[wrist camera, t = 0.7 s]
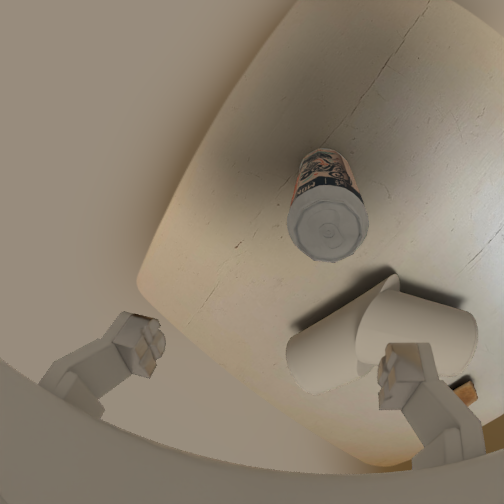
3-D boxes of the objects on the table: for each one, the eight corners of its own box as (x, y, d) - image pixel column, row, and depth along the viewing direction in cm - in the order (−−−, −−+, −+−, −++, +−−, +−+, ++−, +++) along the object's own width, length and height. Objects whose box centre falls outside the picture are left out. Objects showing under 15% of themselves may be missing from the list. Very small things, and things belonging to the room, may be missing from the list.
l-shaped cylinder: (418, 222, 24) (276, 321, 34) (466, 307, 16) (277, 401, 26) (465, 296, 31) (355, 361, 41) (492, 360, 23) (364, 421, 33)
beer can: (333, 137, 23) (346, 175, 13) (359, 181, 25) (384, 247, 15) (289, 163, 26) (268, 218, 16) (316, 204, 27) (312, 280, 17)
